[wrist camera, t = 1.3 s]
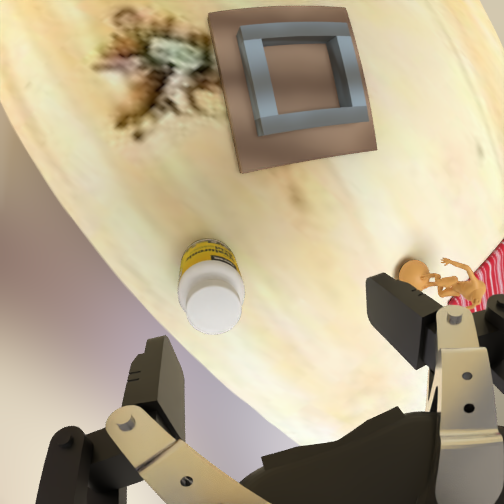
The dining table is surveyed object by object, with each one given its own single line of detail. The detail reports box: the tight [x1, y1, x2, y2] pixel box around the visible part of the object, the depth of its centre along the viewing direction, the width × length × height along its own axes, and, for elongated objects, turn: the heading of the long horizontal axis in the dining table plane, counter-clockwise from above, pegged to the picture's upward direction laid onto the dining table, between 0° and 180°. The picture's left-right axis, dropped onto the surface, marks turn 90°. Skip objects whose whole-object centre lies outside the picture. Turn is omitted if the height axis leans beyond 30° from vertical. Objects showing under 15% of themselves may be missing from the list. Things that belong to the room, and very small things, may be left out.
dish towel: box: [448, 239, 504, 313], centre depth 41 cm, size 17×24×3 cm
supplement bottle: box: [178, 239, 245, 334], centre depth 26 cm, size 5×5×10 cm
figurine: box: [399, 258, 486, 309], centre depth 30 cm, size 8×6×12 cm
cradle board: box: [208, 6, 377, 174], centre depth 24 cm, size 16×14×4 cm
